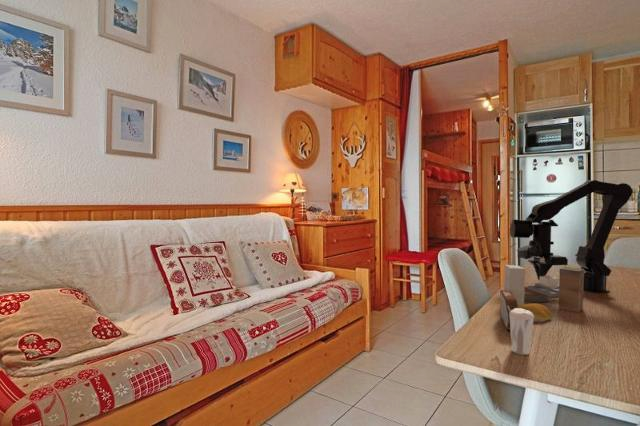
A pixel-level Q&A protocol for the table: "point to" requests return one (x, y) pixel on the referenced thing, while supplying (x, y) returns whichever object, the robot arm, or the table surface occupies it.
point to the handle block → (571, 289)
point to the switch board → (545, 290)
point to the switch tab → (549, 281)
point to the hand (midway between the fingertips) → (540, 280)
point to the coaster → (535, 298)
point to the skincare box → (515, 281)
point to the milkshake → (521, 330)
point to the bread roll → (538, 312)
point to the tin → (506, 301)
